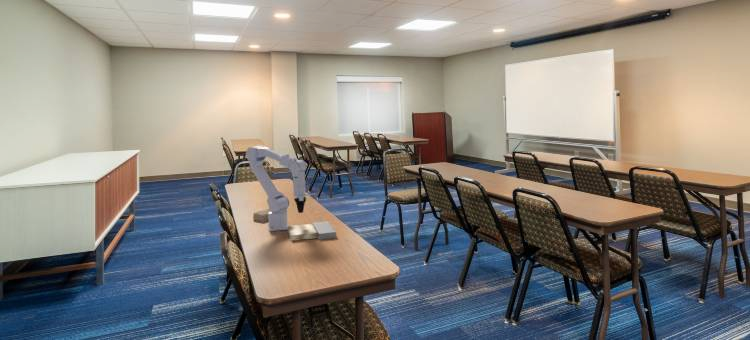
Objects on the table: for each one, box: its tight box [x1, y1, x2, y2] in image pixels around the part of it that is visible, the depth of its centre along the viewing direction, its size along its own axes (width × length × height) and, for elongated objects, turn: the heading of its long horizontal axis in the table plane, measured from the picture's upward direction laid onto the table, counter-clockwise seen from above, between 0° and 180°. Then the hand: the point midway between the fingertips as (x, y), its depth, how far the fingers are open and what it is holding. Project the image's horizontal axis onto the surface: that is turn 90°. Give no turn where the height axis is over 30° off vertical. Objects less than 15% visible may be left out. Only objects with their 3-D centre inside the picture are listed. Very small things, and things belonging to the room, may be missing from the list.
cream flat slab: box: [287, 223, 319, 242], centre depth 204 cm, size 12×16×2 cm
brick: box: [252, 208, 271, 223], centre depth 237 cm, size 17×8×5 cm, turn 145°
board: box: [311, 220, 337, 240], centre depth 207 cm, size 8×20×3 cm, turn 17°
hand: (300, 212), depth 209 cm, fingers closed
